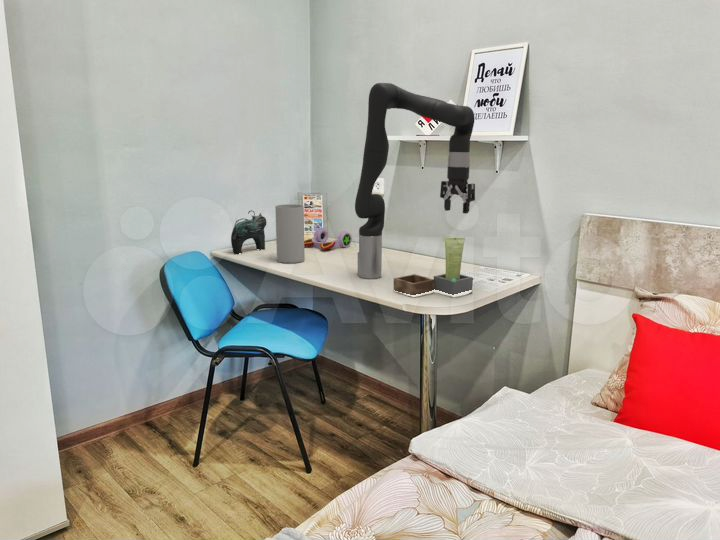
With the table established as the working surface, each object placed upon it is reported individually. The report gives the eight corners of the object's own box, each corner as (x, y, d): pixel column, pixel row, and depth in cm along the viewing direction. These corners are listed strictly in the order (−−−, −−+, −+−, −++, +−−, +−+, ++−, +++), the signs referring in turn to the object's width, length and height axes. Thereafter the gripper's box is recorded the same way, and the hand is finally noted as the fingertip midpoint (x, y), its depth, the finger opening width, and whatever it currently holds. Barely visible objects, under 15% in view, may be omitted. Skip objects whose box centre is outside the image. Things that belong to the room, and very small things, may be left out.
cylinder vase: (274, 258, 260) (273, 204, 254) (301, 257, 264) (300, 204, 258) (279, 264, 249) (278, 208, 243) (307, 262, 252) (306, 207, 246)
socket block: (432, 292, 207) (433, 273, 205) (451, 287, 213) (452, 269, 211) (453, 298, 199) (454, 279, 197) (472, 293, 205) (473, 274, 203)
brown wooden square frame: (393, 291, 207) (393, 278, 206) (414, 286, 214) (414, 274, 212) (413, 297, 199) (413, 284, 198) (434, 292, 206) (434, 279, 204)
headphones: (353, 231, 288) (326, 231, 273) (351, 250, 289) (324, 251, 274) (325, 227, 300) (298, 227, 285) (323, 245, 302) (296, 246, 286)
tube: (450, 287, 210) (452, 235, 205) (462, 289, 206) (465, 237, 202) (442, 290, 206) (444, 237, 201) (454, 292, 202) (456, 239, 198)
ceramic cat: (262, 247, 286) (260, 208, 281) (270, 249, 281) (269, 209, 277) (229, 253, 271) (227, 212, 266) (238, 255, 267) (236, 213, 262)
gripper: (436, 164, 198) (434, 210, 202) (466, 166, 187) (464, 215, 191) (450, 164, 203) (448, 208, 207) (481, 166, 192) (479, 213, 196)
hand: (456, 211), depth 199 cm, fingers open, 8 cm apart
